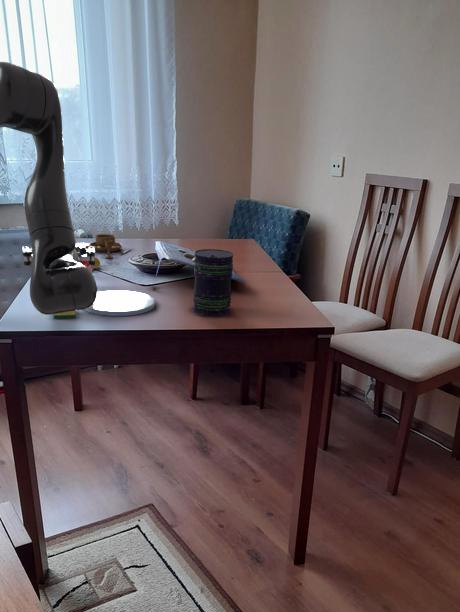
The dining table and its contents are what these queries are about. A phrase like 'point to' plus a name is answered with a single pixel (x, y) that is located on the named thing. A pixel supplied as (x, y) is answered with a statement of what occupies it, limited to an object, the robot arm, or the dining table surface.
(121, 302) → the plate
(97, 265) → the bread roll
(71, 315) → the sponge
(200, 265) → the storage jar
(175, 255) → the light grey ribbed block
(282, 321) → the dining table surface
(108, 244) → the place setting
